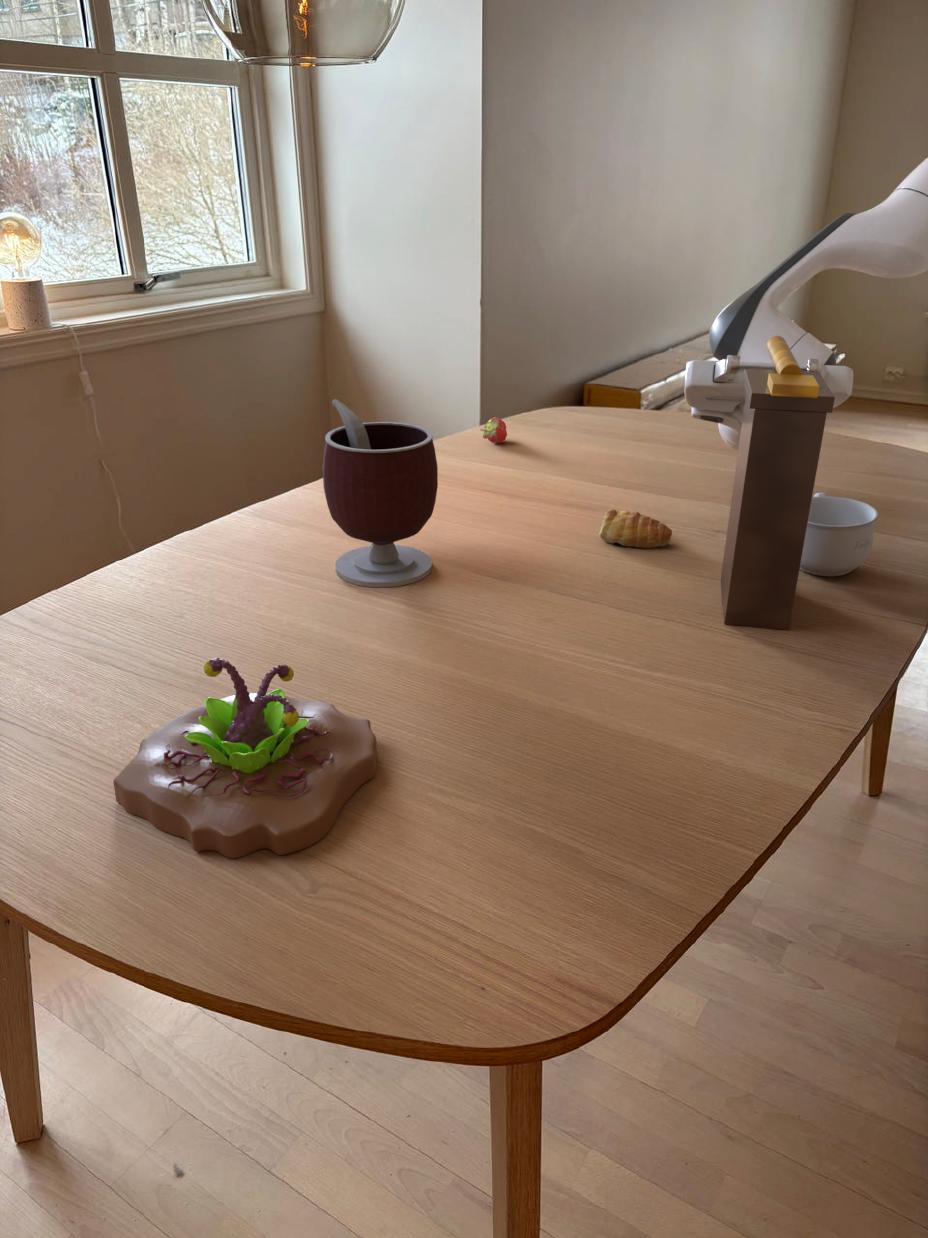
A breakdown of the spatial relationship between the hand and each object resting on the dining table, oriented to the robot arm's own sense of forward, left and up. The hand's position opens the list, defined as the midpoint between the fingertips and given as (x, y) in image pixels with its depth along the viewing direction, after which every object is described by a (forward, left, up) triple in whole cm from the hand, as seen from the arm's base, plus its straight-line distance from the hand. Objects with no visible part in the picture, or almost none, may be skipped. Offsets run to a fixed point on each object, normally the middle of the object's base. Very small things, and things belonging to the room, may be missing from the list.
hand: (774, 363), depth 113 cm
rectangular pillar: (0, +14, -25) cm, 29 cm away
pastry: (+15, -4, -25) cm, 30 cm away
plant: (+44, +58, -25) cm, 77 cm away
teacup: (-10, -1, -25) cm, 27 cm away
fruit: (+41, -47, -25) cm, 67 cm away
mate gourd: (+46, +12, -25) cm, 54 cm away
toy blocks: (0, +11, +1) cm, 11 cm away
